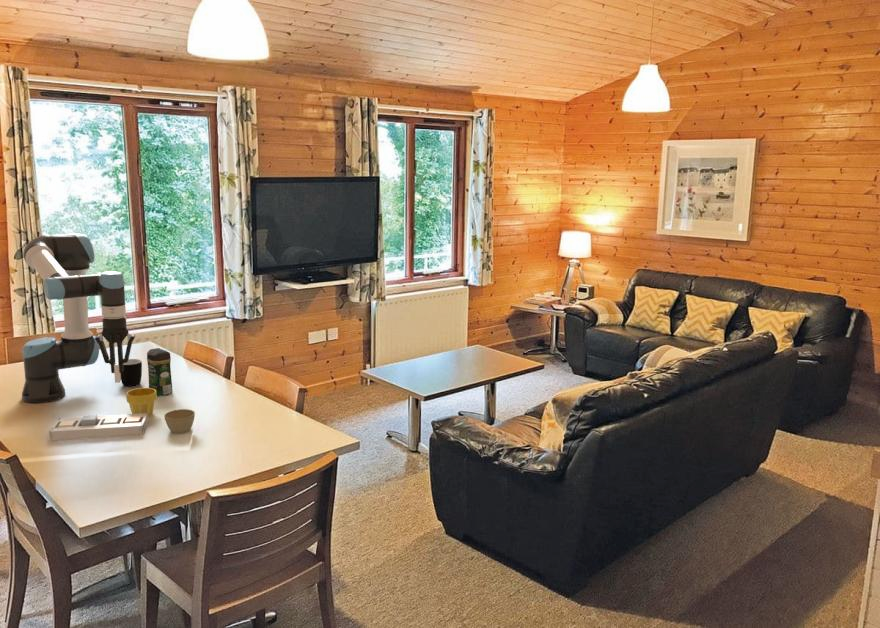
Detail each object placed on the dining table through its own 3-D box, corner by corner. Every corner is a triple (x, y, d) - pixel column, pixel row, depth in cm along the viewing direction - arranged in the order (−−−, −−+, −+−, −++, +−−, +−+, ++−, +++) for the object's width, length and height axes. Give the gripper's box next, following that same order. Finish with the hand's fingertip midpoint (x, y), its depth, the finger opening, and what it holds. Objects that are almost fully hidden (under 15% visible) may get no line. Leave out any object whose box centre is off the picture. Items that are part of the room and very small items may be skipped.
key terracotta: (125, 428, 246) (125, 421, 246) (127, 424, 250) (127, 417, 250) (139, 427, 247) (138, 420, 247) (141, 423, 251) (140, 416, 251)
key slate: (81, 427, 242) (80, 420, 242) (83, 422, 246) (83, 415, 246) (95, 426, 243) (94, 419, 243) (97, 421, 248) (97, 415, 247)
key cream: (58, 432, 241) (58, 425, 240) (62, 428, 245) (61, 421, 244) (73, 431, 242) (72, 424, 241) (76, 427, 246) (75, 420, 246)
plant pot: (164, 415, 265) (162, 390, 263) (140, 423, 257) (138, 397, 255) (145, 410, 270) (144, 385, 269) (121, 418, 262) (119, 392, 260)
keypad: (50, 443, 237) (48, 431, 236) (60, 429, 249) (59, 418, 248) (143, 437, 244) (142, 425, 243) (148, 424, 256) (147, 413, 255)
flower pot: (165, 429, 251) (164, 410, 250) (195, 426, 255) (194, 407, 253) (165, 440, 242) (164, 420, 241) (196, 436, 246) (195, 417, 244)
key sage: (103, 429, 244) (103, 422, 244) (106, 425, 248) (105, 418, 248) (117, 428, 245) (116, 422, 245) (119, 424, 250) (119, 417, 249)
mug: (146, 385, 301) (144, 362, 299) (124, 389, 295) (122, 365, 293) (136, 378, 310) (134, 356, 308) (114, 382, 304) (113, 359, 302)
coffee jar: (146, 392, 291) (143, 348, 288) (164, 388, 297) (162, 345, 293) (156, 398, 285) (153, 353, 281) (175, 394, 290) (173, 350, 287)
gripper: (91, 319, 241) (95, 385, 246) (132, 318, 244) (136, 384, 249) (95, 314, 248) (100, 378, 253) (135, 313, 251) (139, 377, 256)
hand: (118, 381), depth 251 cm, fingers closed
